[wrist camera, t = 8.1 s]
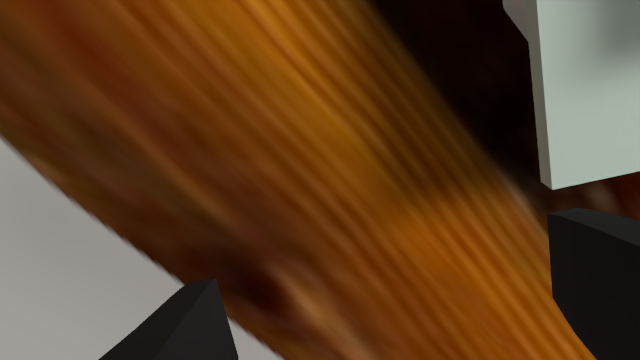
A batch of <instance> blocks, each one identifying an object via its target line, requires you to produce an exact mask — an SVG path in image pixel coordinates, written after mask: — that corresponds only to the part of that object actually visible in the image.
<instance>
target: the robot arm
mask: <svg viewBox="0 0 640 360" xmlns="http://www.w3.org/2000/svg"><path fill="white" fill-rule="evenodd" d="M547 219H548V234H549V249H550V264H551V279H552V294H553V298H554V300H555V302H556V303H557V305H558V307H559V308H560V310H561V312H562V313H563V315H564V317H565V318H566V320H567V321H568V323H569V324H570V326H571V327H572V329H573V331H574V332H575V334H576V335H577V336H578V337H579V339H580V340H581V341H582V342H583V344H584V345H585V346H586V347H587V348H588V349H589V351H590V352H591V353H592V354H593V355H594V357H595V358H596V359H597V360H640V221H637V220H633V219H629V218H625V217H621V216H617V215H613V214H609V213H605V212H600V211H595V210H590V209H583V208H572V209H567V210H562V211H556V212H551V213H547ZM99 360H238V354H237V351H236V347H235V344H234V340H233V337H232V333H231V330H230V326H229V323H228V319H227V316H226V312H225V309H224V305H223V302H222V298H221V295H220V291H219V287H218V284H217V280H216V278H212V279H207V280H202V281H197V282H192V283H188V284H186V285H185V286H183V287H182V288H181V289H179V291H177V292H176V293H175V294H174V295H172V296H171V297H170V298H169V299H168V300H167V301H166V302H165V303H164V304H162V305H161V306H160V307H159V308H158V309H157V310H156V311H155V312H154V313H153V314H151V316H149V317H148V318H147V319H146V320H145V321H144V322H143V323H142V324H140V325H139V326H138V327H137V328H136V329H135V330H134V331H132V332H131V333H130V334H129V335H128V336H127V337H126V338H124V339H123V340H122V341H121V342H119V343H118V344H117V345H116V346H114V347H113V348H112V349H111V350H110V351H108V352H107V353H106V354H105V355H104V356H102V357H101V358H100V359H99Z"/></svg>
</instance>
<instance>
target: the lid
mask: <svg viewBox="0 0 640 360" xmlns="http://www.w3.org/2000/svg"><path fill="white" fill-rule="evenodd" d="M525 9H526V20H527V31H528V42H529V53H530V64H531V76H532V87H533V98H534V109H535V120H536V131H537V142H538V154H539V165H540V176H541V182H542V183H544V184H545V185H546V186H548V187H549V188H551V189H552V190H554V189H558V188H563V187H568V186H572V185H577V184H582V183H586V182H591V181H596V180H600V179H605V178H610V177H614V176H619V175H624V174H628V173H633V172H638V171H640V0H525Z"/></svg>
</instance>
